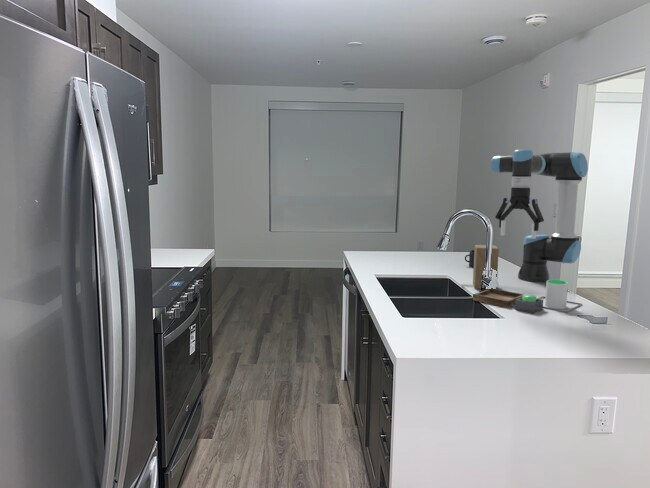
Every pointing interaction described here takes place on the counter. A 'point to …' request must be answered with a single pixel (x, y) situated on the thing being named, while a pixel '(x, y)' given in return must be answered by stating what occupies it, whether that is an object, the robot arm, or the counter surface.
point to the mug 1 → (470, 258)
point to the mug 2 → (556, 294)
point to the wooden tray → (497, 297)
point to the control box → (529, 305)
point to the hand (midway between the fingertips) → (517, 236)
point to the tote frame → (562, 310)
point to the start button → (529, 298)
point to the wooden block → (483, 263)
